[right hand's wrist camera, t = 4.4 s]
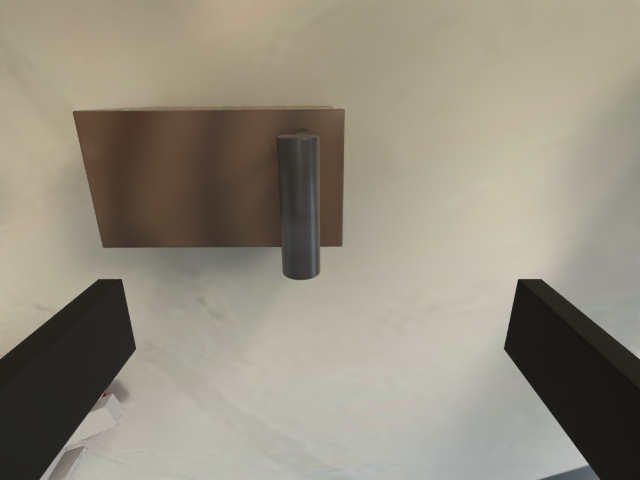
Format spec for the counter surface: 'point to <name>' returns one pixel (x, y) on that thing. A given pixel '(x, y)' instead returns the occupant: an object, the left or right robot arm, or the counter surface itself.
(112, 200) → the lid
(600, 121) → the counter surface
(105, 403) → the toy
